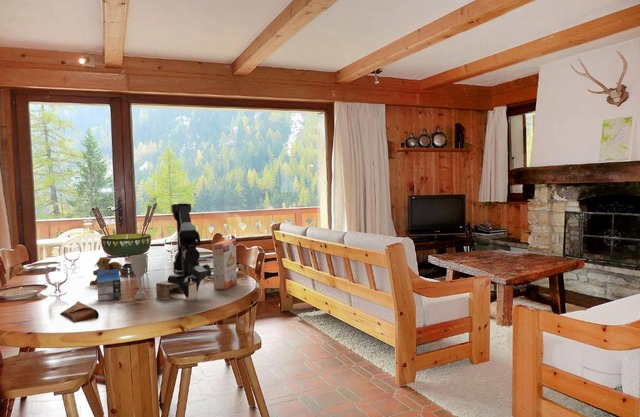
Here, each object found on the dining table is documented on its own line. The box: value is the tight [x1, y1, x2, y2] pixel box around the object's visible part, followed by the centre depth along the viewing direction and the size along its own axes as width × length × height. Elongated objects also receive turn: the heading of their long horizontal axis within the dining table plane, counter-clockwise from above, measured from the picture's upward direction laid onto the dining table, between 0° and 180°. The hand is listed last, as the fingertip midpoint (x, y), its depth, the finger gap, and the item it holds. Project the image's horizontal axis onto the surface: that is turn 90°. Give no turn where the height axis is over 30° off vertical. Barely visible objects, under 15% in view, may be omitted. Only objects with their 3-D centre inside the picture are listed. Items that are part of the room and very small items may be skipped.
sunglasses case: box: [59, 301, 100, 324], centre depth 170 cm, size 18×7×7 cm, turn 47°
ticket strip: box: [169, 282, 198, 302], centre depth 192 cm, size 15×4×7 cm, turn 57°
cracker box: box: [212, 239, 238, 290], centre depth 210 cm, size 14×6×21 cm, turn 168°
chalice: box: [129, 254, 148, 300], centre depth 193 cm, size 7×7×18 cm
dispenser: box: [155, 280, 185, 300], centre depth 195 cm, size 7×9×6 cm
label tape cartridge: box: [96, 269, 122, 302], centre depth 192 cm, size 9×4×12 cm, turn 117°
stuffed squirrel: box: [89, 256, 123, 286], centre depth 225 cm, size 10×14×13 cm
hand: (191, 295), depth 188 cm, fingers closed on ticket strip, 4 cm apart
